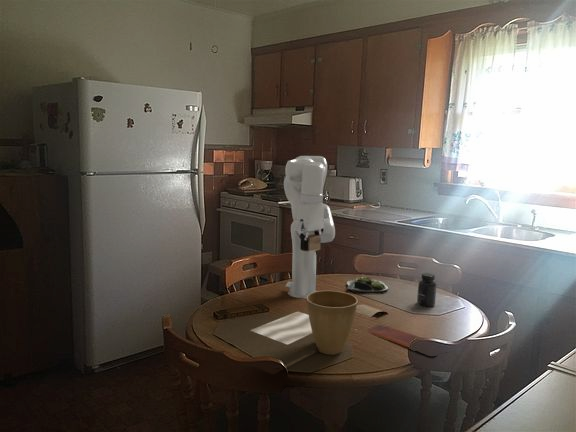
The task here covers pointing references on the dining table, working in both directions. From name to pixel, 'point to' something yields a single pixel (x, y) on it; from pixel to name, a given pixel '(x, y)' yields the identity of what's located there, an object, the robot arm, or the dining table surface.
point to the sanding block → (313, 243)
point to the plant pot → (331, 319)
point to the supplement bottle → (427, 290)
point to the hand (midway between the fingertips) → (310, 248)
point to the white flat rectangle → (286, 328)
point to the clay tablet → (367, 310)
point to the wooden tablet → (392, 335)
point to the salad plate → (366, 285)
